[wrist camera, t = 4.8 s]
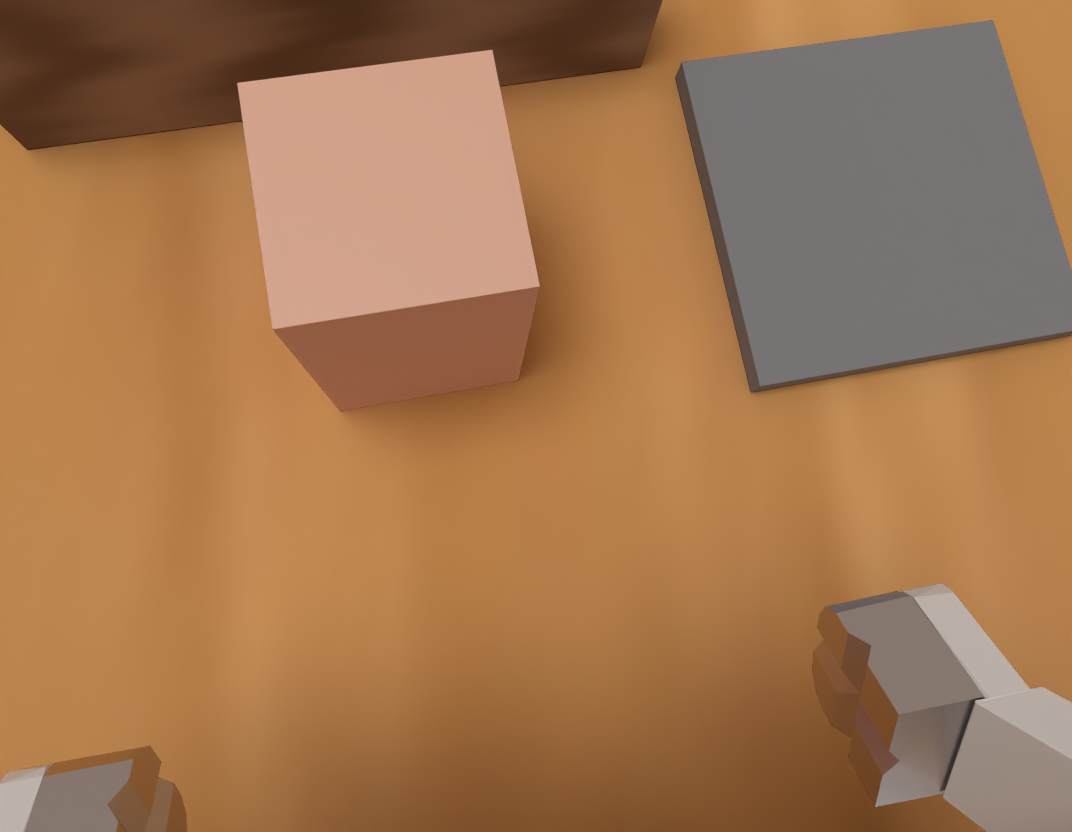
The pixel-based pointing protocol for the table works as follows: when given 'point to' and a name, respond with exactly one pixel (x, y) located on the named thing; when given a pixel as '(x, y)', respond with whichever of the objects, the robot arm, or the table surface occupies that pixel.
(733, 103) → the charcoal mat
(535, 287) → the pink block
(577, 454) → the table surface
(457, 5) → the walnut screen
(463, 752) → the table surface
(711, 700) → the table surface
